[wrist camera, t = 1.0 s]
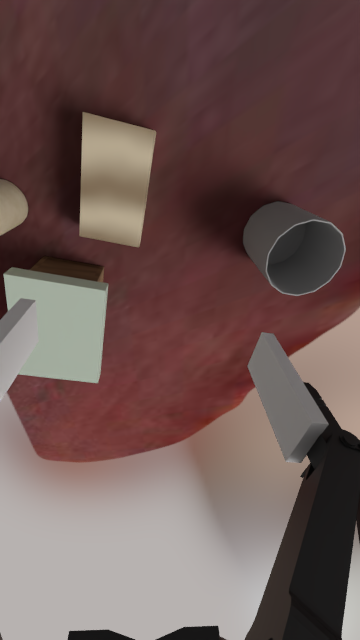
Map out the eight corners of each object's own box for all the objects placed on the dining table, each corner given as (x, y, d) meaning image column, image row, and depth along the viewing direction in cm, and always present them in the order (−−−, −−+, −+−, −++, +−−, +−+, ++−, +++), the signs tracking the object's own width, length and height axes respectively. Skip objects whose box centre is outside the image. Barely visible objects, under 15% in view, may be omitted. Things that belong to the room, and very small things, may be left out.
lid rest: (91, 115, 30) (82, 111, 27) (156, 132, 31) (155, 130, 28) (87, 227, 36) (79, 235, 33) (141, 237, 37) (139, 247, 34)
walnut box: (44, 255, 38) (25, 273, 33) (104, 266, 39) (95, 285, 34) (47, 338, 45) (32, 362, 40) (98, 344, 46) (90, 369, 41)
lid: (11, 267, 32) (3, 274, 31) (108, 283, 34) (105, 290, 32) (22, 364, 40) (15, 373, 38) (100, 373, 42) (97, 383, 40)
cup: (235, 258, 39) (255, 289, 31) (253, 196, 35) (282, 213, 27) (290, 267, 41) (323, 299, 32) (314, 208, 36) (360, 228, 28)
